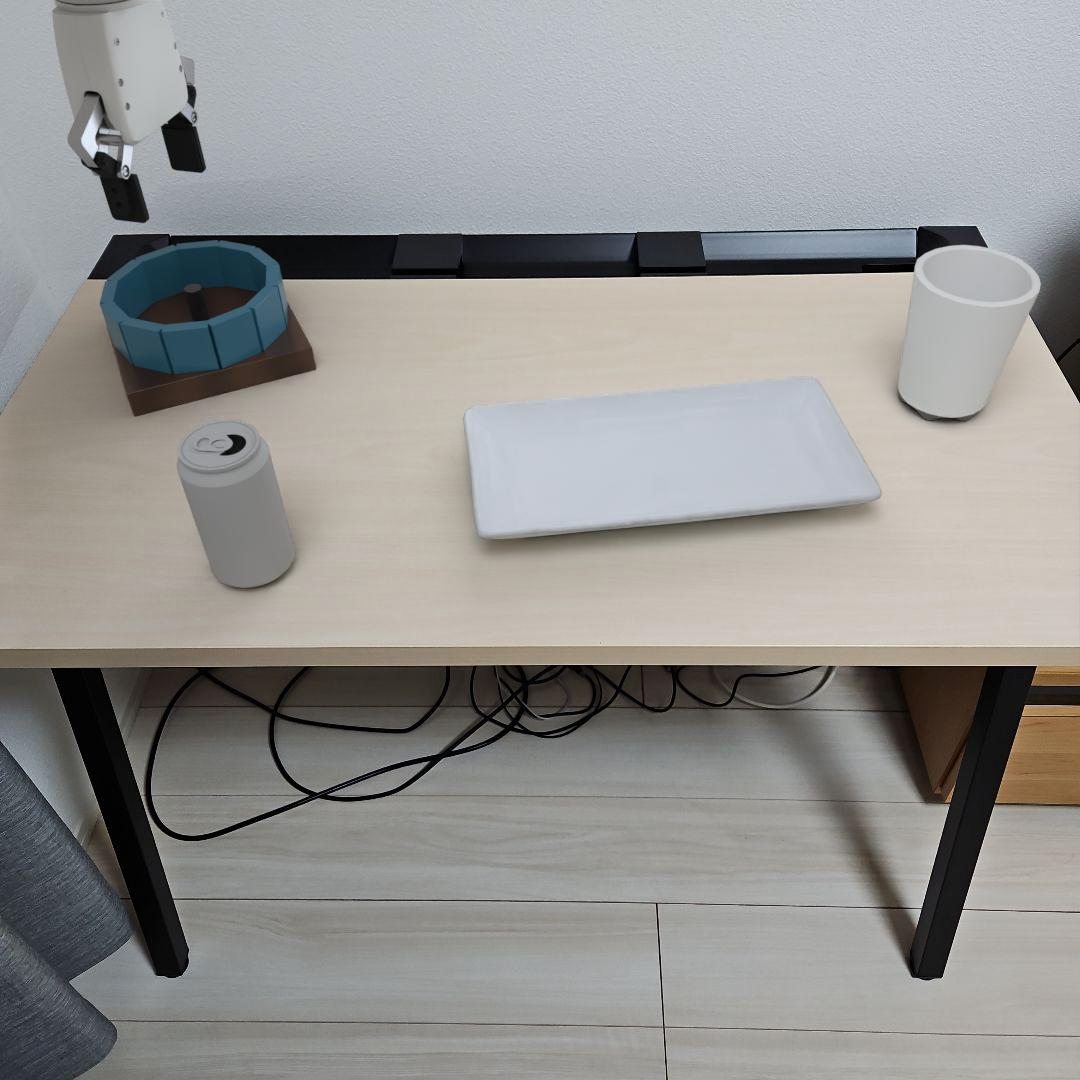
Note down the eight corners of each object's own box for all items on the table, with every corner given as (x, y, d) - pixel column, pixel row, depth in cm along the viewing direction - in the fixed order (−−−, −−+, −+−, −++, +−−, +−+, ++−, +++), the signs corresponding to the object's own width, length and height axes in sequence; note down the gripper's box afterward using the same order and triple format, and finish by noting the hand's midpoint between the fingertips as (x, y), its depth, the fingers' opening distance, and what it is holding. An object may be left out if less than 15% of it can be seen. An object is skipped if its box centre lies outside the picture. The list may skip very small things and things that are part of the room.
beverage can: (288, 594, 78) (254, 471, 70) (203, 594, 79) (159, 472, 70) (303, 535, 83) (274, 414, 75) (223, 535, 83) (185, 414, 75)
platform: (134, 416, 95) (112, 356, 90) (107, 325, 106) (87, 267, 101) (316, 369, 100) (304, 309, 95) (272, 286, 111) (260, 229, 106)
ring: (127, 392, 93) (112, 349, 90) (102, 303, 104) (87, 262, 101) (309, 346, 98) (301, 304, 95) (266, 266, 109) (258, 226, 106)
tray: (463, 434, 92) (461, 402, 90) (811, 402, 94) (818, 370, 92) (479, 570, 80) (476, 537, 77) (878, 529, 82) (887, 496, 80)
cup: (1009, 435, 90) (1057, 306, 82) (893, 433, 91) (928, 304, 82) (981, 369, 98) (1022, 244, 89) (874, 367, 98) (904, 242, 89)
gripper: (118, -57, 85) (172, 149, 97) (-15, 9, 73) (66, 236, 85) (202, -53, 84) (246, 157, 95) (80, 16, 72) (148, 246, 83)
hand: (161, 194), depth 90 cm, fingers open, 9 cm apart
